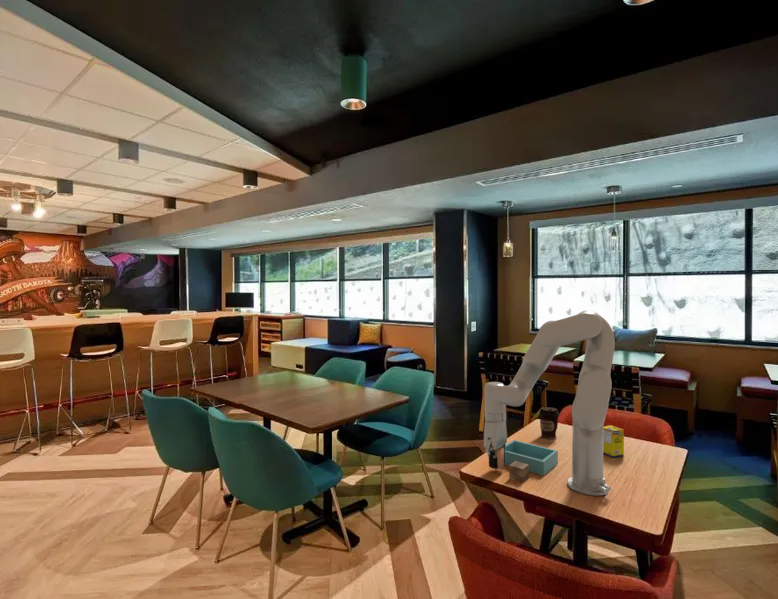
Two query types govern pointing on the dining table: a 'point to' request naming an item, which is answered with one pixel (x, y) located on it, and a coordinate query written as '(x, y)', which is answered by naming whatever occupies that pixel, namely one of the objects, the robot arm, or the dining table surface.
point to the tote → (531, 456)
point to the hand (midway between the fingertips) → (496, 464)
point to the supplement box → (613, 441)
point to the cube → (519, 471)
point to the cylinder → (499, 457)
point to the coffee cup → (548, 422)
